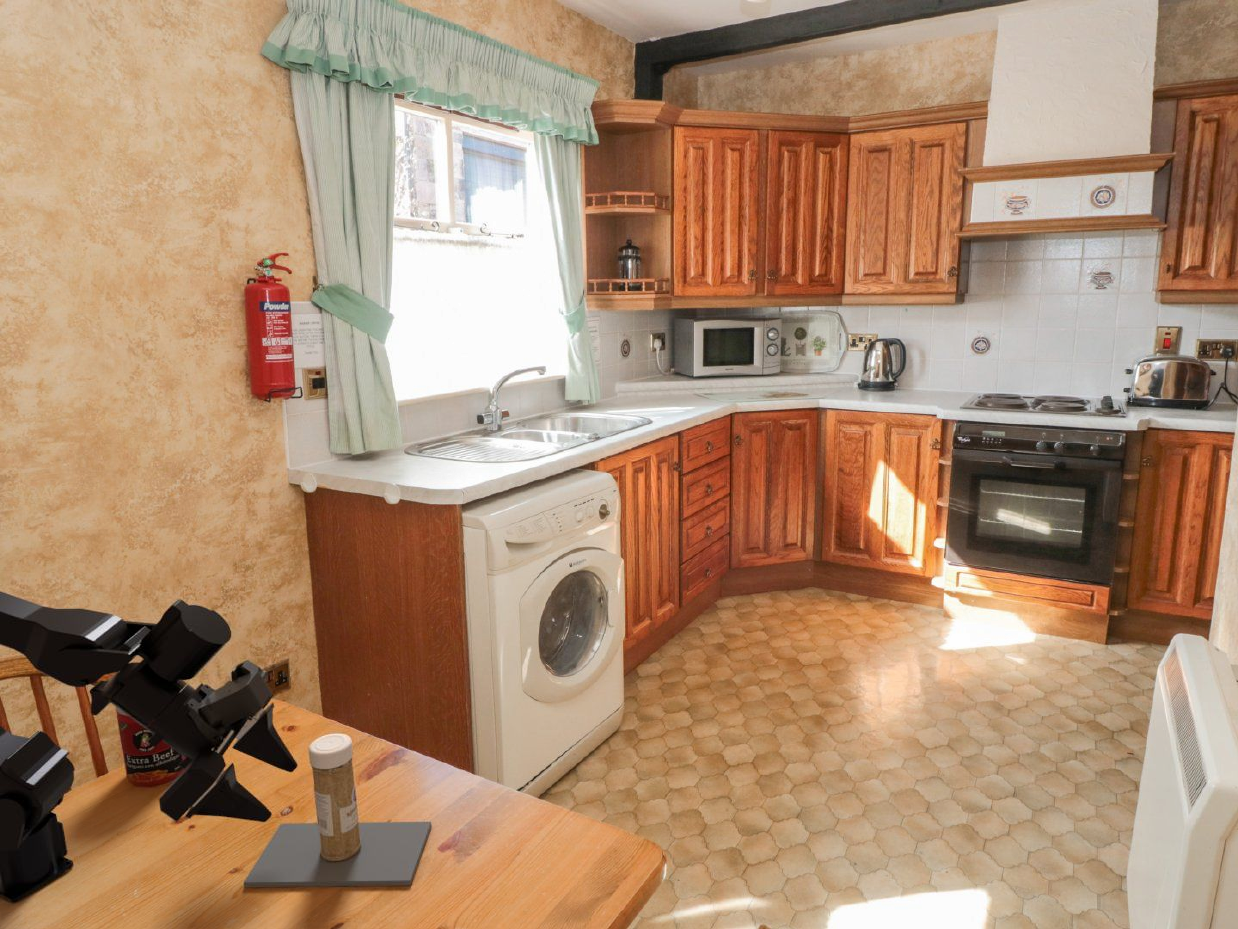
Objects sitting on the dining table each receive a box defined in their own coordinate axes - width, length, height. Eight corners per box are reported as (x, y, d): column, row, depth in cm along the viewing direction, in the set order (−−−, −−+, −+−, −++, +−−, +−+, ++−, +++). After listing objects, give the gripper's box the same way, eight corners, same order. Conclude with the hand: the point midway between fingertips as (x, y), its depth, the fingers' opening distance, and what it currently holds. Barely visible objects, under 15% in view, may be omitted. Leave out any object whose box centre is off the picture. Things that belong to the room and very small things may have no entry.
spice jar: (365, 855, 93) (355, 747, 90) (322, 868, 91) (311, 758, 88) (357, 832, 97) (348, 727, 94) (316, 844, 95) (305, 738, 92)
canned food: (119, 793, 107) (106, 715, 104) (137, 759, 114) (125, 686, 112) (184, 782, 108) (173, 706, 106) (197, 751, 116) (187, 678, 114)
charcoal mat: (244, 887, 89) (243, 882, 89) (281, 828, 99) (280, 823, 99) (410, 885, 89) (410, 880, 89) (431, 826, 99) (431, 821, 99)
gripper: (178, 696, 79) (307, 793, 82) (247, 620, 97) (350, 702, 100) (103, 775, 80) (233, 868, 83) (185, 685, 98) (289, 764, 101)
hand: (282, 792), depth 92 cm, fingers open, 9 cm apart
